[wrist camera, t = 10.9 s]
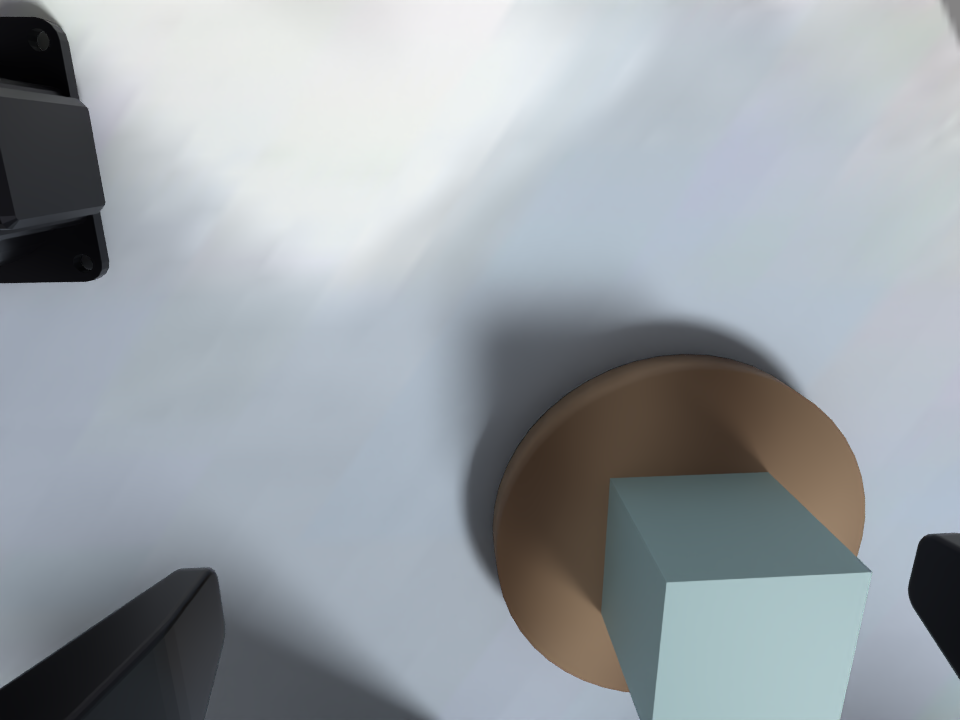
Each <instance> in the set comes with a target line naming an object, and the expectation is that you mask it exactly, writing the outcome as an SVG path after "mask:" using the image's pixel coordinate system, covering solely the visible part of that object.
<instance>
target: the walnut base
mask: <svg viewBox="0 0 960 720" xmlns="http://www.w3.org/2000/svg"><path fill="white" fill-rule="evenodd" d="M758 472H769V473H770V474H771V475H772V476H773V477H774V478H775V479H776V480H777V481H778V482H779V483H780V484H781V485H782V486H783V487H784V488H785V489H786V490H787V491H788V492H789V493H790V494H791V495H793V496H794V497H795V498H796V499H797V500H798V501H799V502H800V503H801V504H802V505H803V506H804V507H805V508H806V509H807V510H808V511H809V512H810V513H811V514H812V515H813V516H814V517H815V518H816V519H818V520H819V521H820V522H821V523H822V524H823V525H824V526H825V527H826V528H827V529H828V530H829V531H830V532H831V533H832V534H833V535H834V536H835V537H836V538H837V539H838V540H839V541H840V542H841V543H843V544H844V545H845V546H846V547H847V548H848V549H849V550H850V551H851V552H852V553H853V554H854V555H855V556H856V557H857V555H858V551H859V548H860V544H861V540H862V536H863V528H864V521H865V494H864V488H863V482H862V476H861V473H860V470H859V467H858V464H857V461H856V458H855V455H854V454H853V452H852V450H851V448H850V446H849V444H848V442H847V440H846V438H845V437H844V435H843V434H842V433H841V432H840V430H839V429H838V428H837V426H836V425H835V424H834V422H833V421H832V420H831V419H830V418H829V417H828V416H827V415H826V414H825V413H824V412H823V411H822V410H821V409H820V408H818V407H817V406H816V405H815V404H814V403H812V402H811V401H809V400H808V399H806V398H805V397H803V396H802V395H800V394H799V393H798V392H796V391H795V390H793V389H792V388H790V387H789V386H787V385H786V384H784V383H783V382H781V381H780V380H778V379H777V378H775V377H774V376H772V375H770V374H768V373H766V372H764V371H762V370H760V369H758V368H755V367H753V366H751V365H748V364H745V363H741V362H738V361H735V360H732V359H727V358H722V357H716V356H710V355H692V354H679V355H668V356H658V357H653V358H649V359H644V360H640V361H635V362H632V363H629V364H626V365H623V366H620V367H617V368H614V369H612V370H609V371H607V372H605V373H603V374H601V375H599V376H597V377H595V378H593V379H591V380H589V381H587V382H585V383H584V384H582V385H581V386H579V387H578V388H576V389H575V390H573V391H571V392H570V393H568V394H567V395H566V396H564V397H563V398H562V399H561V400H560V401H558V402H557V403H556V404H555V405H554V406H552V407H551V408H550V409H549V410H548V411H547V412H546V413H545V414H544V415H543V416H542V417H541V418H540V419H539V420H538V421H537V422H536V423H535V424H534V425H533V427H532V428H531V429H530V430H529V432H528V433H527V434H526V436H525V437H524V439H523V440H522V441H521V443H520V444H519V445H518V447H517V449H516V451H515V452H514V454H513V456H512V458H511V460H510V462H509V463H508V465H507V467H506V470H505V472H504V475H503V478H502V480H501V483H500V486H499V489H498V493H497V498H496V502H495V507H494V518H493V540H494V551H495V557H496V563H497V570H498V576H499V581H500V585H501V589H502V593H503V597H504V599H505V602H506V604H507V607H508V609H509V612H510V614H511V616H512V618H513V619H514V621H515V623H516V624H517V626H518V628H519V629H520V631H521V632H522V634H523V635H524V636H525V637H526V638H527V640H528V641H529V642H530V643H531V644H532V646H533V647H534V648H535V649H536V650H538V651H539V652H540V653H541V654H542V655H543V656H544V657H545V658H546V659H548V660H549V661H550V662H552V663H553V664H555V665H556V666H558V667H559V668H561V669H562V670H564V671H565V672H567V673H569V674H571V675H573V676H575V677H577V678H579V679H581V680H583V681H586V682H589V683H592V684H595V685H598V686H601V687H604V688H609V689H613V690H618V691H623V692H630V691H629V688H628V686H627V683H626V680H625V677H624V675H623V672H622V669H621V667H620V664H619V661H618V658H617V656H616V653H615V650H614V647H613V645H612V642H611V639H610V636H609V634H608V631H607V628H606V625H605V623H604V620H603V617H602V614H601V607H602V592H603V577H604V562H605V547H606V532H607V516H608V501H609V486H610V478H628V477H654V476H680V475H706V474H732V473H758Z"/></svg>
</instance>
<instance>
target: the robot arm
mask: <svg viewBox="0 0 960 720" xmlns="http://www.w3.org/2000/svg"><path fill="white" fill-rule="evenodd" d="M41 32H45V33H46V34H47V35H48V37H49V40H50V43H49V47H48V48H47V50H45V51H42V50H41V49H40V48H39V46H38V43H37V37H38V35H39V34H40V33H41ZM104 205H105V198H104V193H103V187H102V182H101V176H100V171H99V165H98V160H97V154H96V149H95V143H94V138H93V132H92V127H91V121H90V116H89V111H88V108H87V107H86V106H85V105H84V104H83V103H82V102H81V101H79V96H78V91H77V85H76V80H75V75H74V69H73V64H72V58H71V53H70V48H69V42H68V40H67V37H66V34H65V33H64V32H63V31H62V29H61V28H60V27H59V26H57V25H56V24H54V23H53V22H50V21H47V20H44V19H41V18H36V17H0V283H37V282H87V281H92V280H95V279H98V278H100V277H102V276H103V275H104V274H106V272H107V270H108V268H109V258H108V253H107V247H106V242H105V236H104V231H103V226H102V220H101V215H100V211H101V209H102V208H103V207H104ZM83 254H84V255H87V256H88V257H89V258H91V260H92V263H93V268H92V269H91V270H89V269H86V268H85V267H84V266H83V265H82V263H81V256H82V255H83ZM908 594H909V599H910V602H911V604H912V606H913V608H914V610H915V611H916V613H917V615H918V616H919V618H920V619H921V621H922V622H923V624H924V625H925V627H926V628H927V630H928V631H929V633H930V635H931V636H932V638H933V639H934V641H935V642H936V644H937V645H938V647H939V648H940V650H941V651H942V653H943V655H944V656H945V658H946V659H947V661H948V662H949V664H950V665H951V667H952V668H953V670H954V671H955V673H956V675H957V676H958V678H959V679H960V533H940V534H928V535H926V536H924V537H923V538H922V539H921V540H920V542H919V544H918V548H917V552H916V556H915V560H914V564H913V568H912V573H911V577H910V581H909V586H908ZM224 637H225V621H224V615H223V608H222V602H221V595H220V589H219V582H218V577H217V575H216V573H215V571H214V570H213V569H211V568H208V567H207V568H185V569H179V570H176V571H175V572H173V573H171V574H170V575H168V576H167V577H166V578H164V579H163V580H161V581H160V582H158V583H157V584H155V585H154V586H152V587H151V588H149V589H148V590H146V591H145V592H143V593H142V594H140V595H139V596H137V597H136V598H134V599H133V600H131V601H130V602H128V603H127V604H125V605H124V606H122V607H121V608H119V609H118V610H116V611H115V612H113V613H112V614H111V615H109V616H108V617H106V618H105V619H103V620H102V621H100V622H99V623H97V624H96V625H94V626H93V627H91V628H90V629H88V630H87V631H85V632H84V633H82V634H81V635H79V636H78V637H76V638H75V639H73V640H72V641H70V642H69V643H67V644H66V645H64V646H63V647H61V648H60V649H58V650H57V651H56V652H54V653H53V654H51V655H50V656H48V657H47V658H45V659H44V660H42V661H41V662H39V663H38V664H36V665H35V666H33V667H32V668H30V669H29V670H27V671H26V672H24V673H23V674H21V675H20V676H18V677H17V678H15V679H14V680H12V681H11V682H9V683H8V684H6V685H5V686H3V687H2V688H0V720H204V718H205V714H206V710H207V706H208V702H209V698H210V695H211V691H212V687H213V683H214V679H215V675H216V671H217V667H218V663H219V659H220V655H221V652H222V648H223V643H224Z"/></svg>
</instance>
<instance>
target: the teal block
mask: <svg viewBox="0 0 960 720" xmlns="http://www.w3.org/2000/svg"><path fill="white" fill-rule="evenodd" d="M871 576H872V571H871V570H870V569H869V568H868V567H867V566H865V565H864V564H863V563H862V562H861V561H860V560H859V559H858V558H857V557H856V556H855V555H854V554H853V553H852V552H851V551H850V550H849V549H848V548H847V547H846V546H845V545H844V544H843V543H841V542H840V541H839V540H838V539H837V538H836V537H835V536H834V535H833V534H832V533H831V532H830V531H829V530H828V529H827V528H826V527H825V526H824V525H823V524H822V523H821V522H820V521H819V520H818V519H816V518H815V517H814V516H813V515H812V514H811V513H810V512H809V511H808V510H807V509H806V508H805V507H804V506H803V505H802V504H801V503H800V502H799V501H798V500H797V499H796V498H795V497H794V496H793V495H791V494H790V493H789V492H788V491H787V490H786V489H785V488H784V487H783V486H782V485H781V484H780V483H779V482H778V481H777V480H776V479H775V478H774V477H773V476H772V475H771V474H770V473H769V472H758V473H732V474H706V475H680V476H654V477H628V478H610V486H609V501H608V516H607V532H606V547H605V562H604V577H603V592H602V607H601V614H602V617H603V620H604V623H605V625H606V628H607V631H608V634H609V636H610V639H611V642H612V645H613V647H614V650H615V653H616V656H617V658H618V661H619V664H620V667H621V669H622V672H623V675H624V677H625V680H626V683H627V686H628V688H629V691H630V694H631V697H632V699H633V702H634V705H635V708H636V710H637V713H638V716H639V719H640V720H840V717H841V712H842V708H843V703H844V699H845V694H846V690H847V685H848V681H849V676H850V672H851V667H852V663H853V658H854V654H855V649H856V644H857V640H858V635H859V631H860V626H861V622H862V617H863V613H864V608H865V604H866V599H867V595H868V590H869V586H870V581H871Z"/></svg>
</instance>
